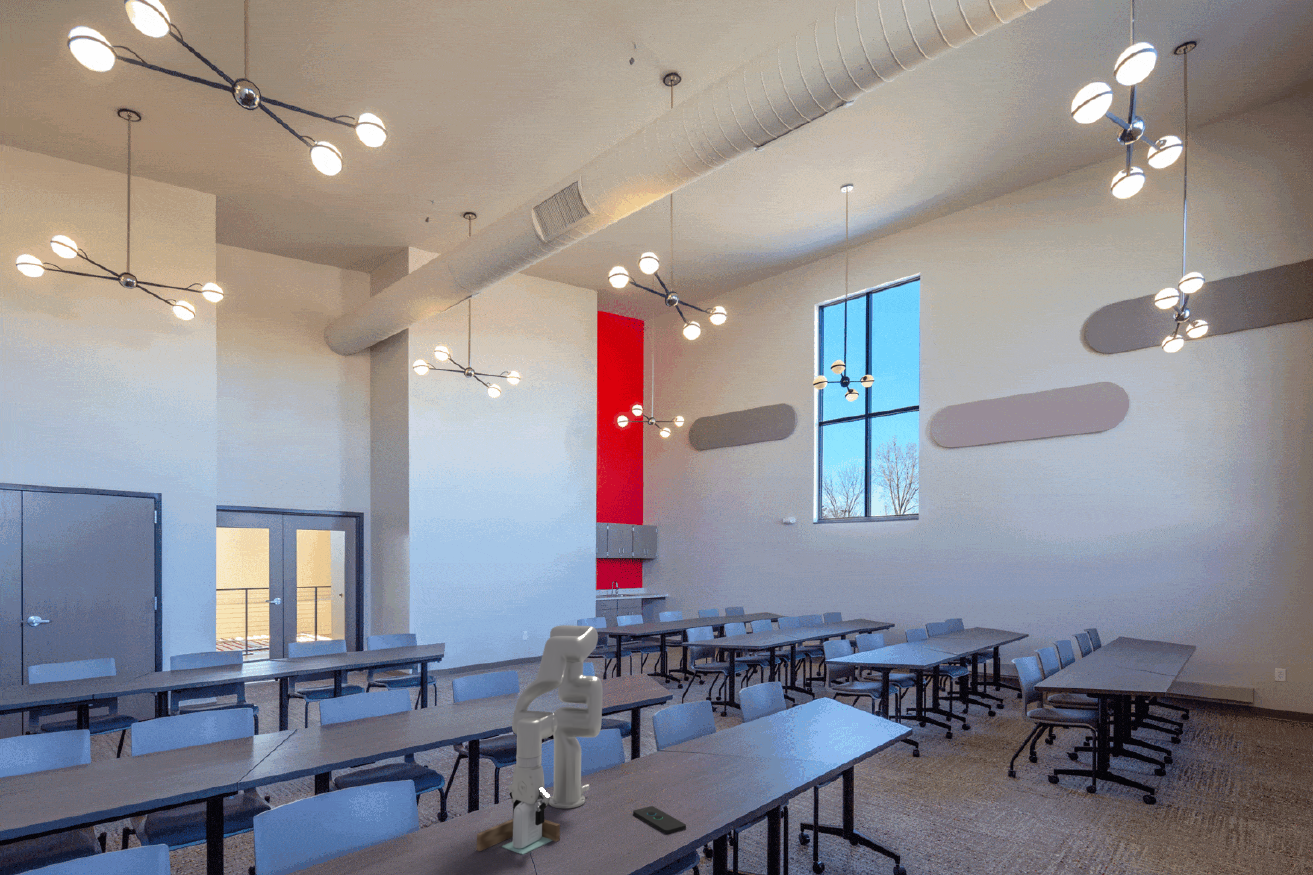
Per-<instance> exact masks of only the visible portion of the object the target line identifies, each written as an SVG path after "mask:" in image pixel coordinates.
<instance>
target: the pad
mask: <svg viewBox="0 0 1313 875" xmlns="http://www.w3.org/2000/svg"><path fill="white" fill-rule="evenodd" d="M550 842H553V840H551V839H548V838H545V837H541V839H539V840H537V841H535V842H533V843H531V844H529V845H528V846H526V847H523V848H521V849H517V848H515V847H514V846H513V840H512V841H510V842H508V843H505V844H503V845H502V846H501V848H503V849H505V850H509V851H512V852H514V853H516V854H519V855H523V856H524V855H526V854H527V853H530V852H532V851H533V850H536V849H538V848H540V847H542V846H544V845H547V844H549V843H550Z"/></svg>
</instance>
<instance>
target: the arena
mask: <svg viewBox="0 0 1313 875" xmlns="http://www.w3.org/2000/svg"><path fill="white" fill-rule="evenodd" d="M542 837H545V838H548V839H551V840H552V842H556V843H557V842H559V841H560V840H561V823H557V822H555V821H551V820H547V819H545V818H544V823H542ZM511 838H513V818H512V819H509V820H507V821H505V822H502V823H499V824H497V825H494V826H492V827H489V828H487V829H485V830H482V831H480V832H478V833H476V851H477V852H482V851H484V850H486V849H488V848H491V847H492V846H495V845H498V844H499V843H502V842H504V841H507V840H508V839H511Z"/></svg>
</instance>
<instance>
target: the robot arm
mask: <svg viewBox="0 0 1313 875" xmlns="http://www.w3.org/2000/svg"><path fill="white" fill-rule="evenodd" d="M549 632H550V633H549V638H548V639H547V640H546V642H545V645H544V648H543V653H542V655H541V656H542V657H541V659H540V664H539V667H538V672H537V675H536V678H535V679H534V680H533V681H532V682H531V683H529V684H528V685H527V686H526V687H525V688H524V690H523V691H522V692H521V693H520V695H519V697H518V698H517V701H516V704H515V708H514V712H513V715H512V719H511V720H512V721H511V728H512V732H513V733H514V734H515V735H516V755H515V758H516V764H515V765H514V768H513V772H512V774H513V775H512V779H511V780H512V781H511V783H510V784H509V785H507V789H508V792H509V797H510V799H511V803H512V815H513V814H514V809H515V807H516V806H517V805H518V804H519V803H521V802H525V803H528V804H534V805H535V807H536V809H537V811H536V812H535V824H536V825H540V824H542V823H544V819H545V814H546V812H545V810H546V809H547V807H548V806H551V807H552V808H556V809H573V808H578V807H580V806H583V805H584V804H585V802H586V796H584V795H583V794H584V792H586V791H589V790H590V784H587V783H586V784H583V785H582V746H581V743H580V742H579V740H578V739H577V738H596V737H597V736H599V734H600V731H601V729H602V718H603V715H602V713H603V693H604V690H603V683H602V681H601V678H599V677H597V676H595V675H584V661H585V660H586V659H588V657H589V656H590V654H592V653H593V651H594V650H595V648H596V647H597V645H598V640H599V634H598V631H597V629H596V628H595V627H594V626H591V625H571V624H568V625H565V624H564V625H556V626H554V627H552V628H551V630H550V631H549ZM555 689H557V692H558V693H557V694H558V695H557V696H558V699H559V700H560V701H561V702H562V703H567V704H579V705H581V704H582V705H586V706H587V707H577V706H576V707H574V706H573V707H572V706H563V707H559V708H557V709H555V711H554V712H551V711H539V710H529V709H528V708H529V707H530V705H531V703H533V702H534V701H535V699H537V698H538V697H540V696H542V695H544V694H547V693H550V692H552V691H554V690H555ZM551 736H553V795H552V796H551V795H550V794H549V793H548V792H546V790H545V776H544V775H545V774H544V768H543V765H542V761H543V760H542V758H543V757H542V752H543V751H542V748H543V745H542V744H543V741H542V740H543V739H547V738H549V737H551ZM538 802H540V804H541V805H539V803H538Z"/></svg>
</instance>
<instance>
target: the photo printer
mask: <svg viewBox="0 0 1313 875" xmlns="http://www.w3.org/2000/svg"><path fill="white" fill-rule="evenodd" d="M538 803H539V805H541V804H540V802H538ZM536 811H537V809H536V807H535V805H534V804H528V803H525V802H521V803H519V804H518V805H517V806H516V807H515V809H514V814H513V813H512V817H513V818H512V819H513V837H512V841H513V846H514V847H515V848H517V849H521V848H523V847H526V846H528V845H529V844H531V843H533V842H535V841H537V840H539V839H541V837H542V824H540V825H536V824H535V812H536Z"/></svg>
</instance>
